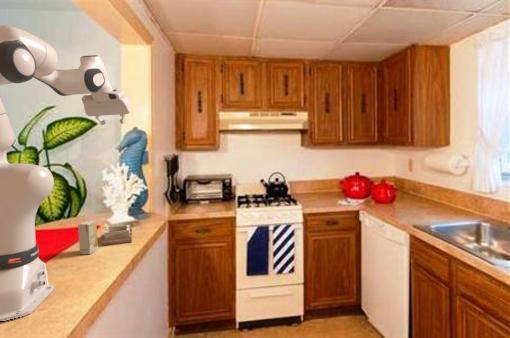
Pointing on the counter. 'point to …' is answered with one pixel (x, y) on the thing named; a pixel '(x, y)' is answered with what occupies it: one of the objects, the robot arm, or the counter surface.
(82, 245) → the skincare box
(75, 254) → the counter surface
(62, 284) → the counter surface
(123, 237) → the collar stand
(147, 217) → the counter surface
